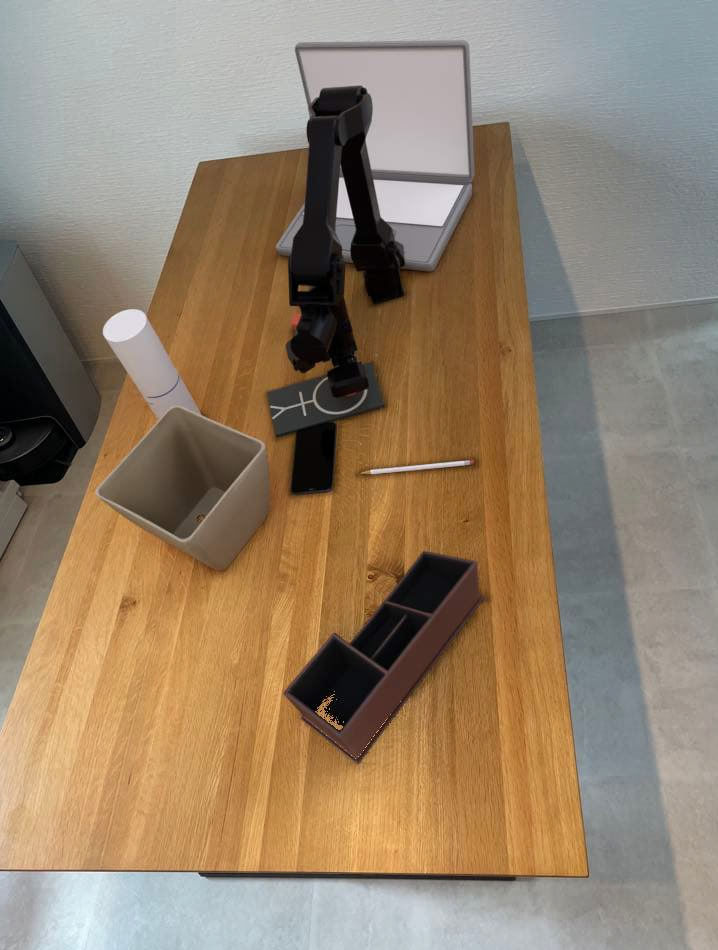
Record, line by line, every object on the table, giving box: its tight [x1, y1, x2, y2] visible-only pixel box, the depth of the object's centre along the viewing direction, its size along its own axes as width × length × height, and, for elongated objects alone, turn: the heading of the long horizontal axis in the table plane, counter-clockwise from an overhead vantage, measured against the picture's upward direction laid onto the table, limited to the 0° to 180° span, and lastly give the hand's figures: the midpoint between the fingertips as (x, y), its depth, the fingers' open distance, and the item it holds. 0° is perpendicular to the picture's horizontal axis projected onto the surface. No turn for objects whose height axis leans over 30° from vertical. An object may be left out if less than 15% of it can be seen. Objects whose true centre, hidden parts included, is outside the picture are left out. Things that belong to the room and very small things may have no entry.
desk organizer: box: [283, 550, 486, 766], centre depth 91 cm, size 10×29×11 cm, turn 141°
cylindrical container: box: [102, 308, 202, 421], centre depth 116 cm, size 7×7×25 cm
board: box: [266, 361, 386, 439], centre depth 123 cm, size 20×11×1 cm, turn 101°
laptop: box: [275, 39, 476, 273], centre depth 135 cm, size 36×28×29 cm
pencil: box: [361, 459, 475, 475], centre depth 112 cm, size 1×19×1 cm, turn 89°
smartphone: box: [290, 422, 338, 496], centre depth 117 cm, size 7×1×15 cm
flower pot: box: [94, 405, 271, 572], centre depth 106 cm, size 19×19×17 cm
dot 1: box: [290, 313, 301, 332], centre depth 134 cm, size 3×3×2 cm
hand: (349, 385), depth 122 cm, fingers closed on dot 2, 3 cm apart
